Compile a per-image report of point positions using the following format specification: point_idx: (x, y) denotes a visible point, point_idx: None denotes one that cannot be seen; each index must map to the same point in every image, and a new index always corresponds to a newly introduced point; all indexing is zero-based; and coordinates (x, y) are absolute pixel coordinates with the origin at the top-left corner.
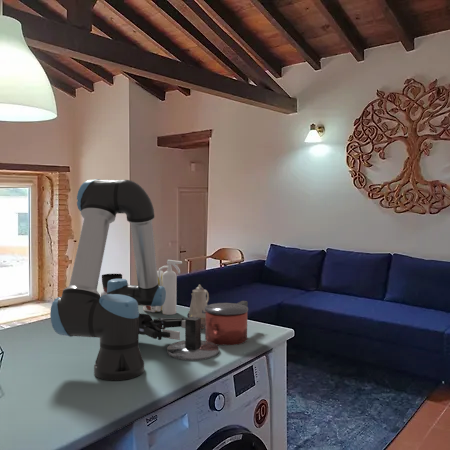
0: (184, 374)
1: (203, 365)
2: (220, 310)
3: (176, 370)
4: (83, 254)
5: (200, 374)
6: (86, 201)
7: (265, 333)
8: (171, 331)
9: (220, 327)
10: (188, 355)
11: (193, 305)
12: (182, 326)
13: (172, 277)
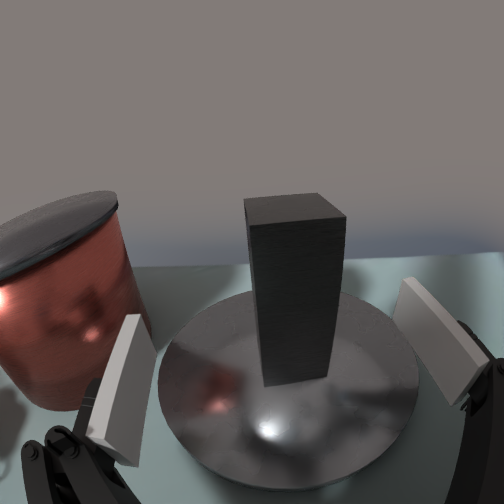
0: (440, 275)
1: (368, 281)
2: (68, 214)
3: (449, 296)
4: None
5: (408, 260)
6: None
7: None
8: (442, 310)
9: (128, 271)
10: (378, 316)
11: None
12: (134, 455)
13: None
